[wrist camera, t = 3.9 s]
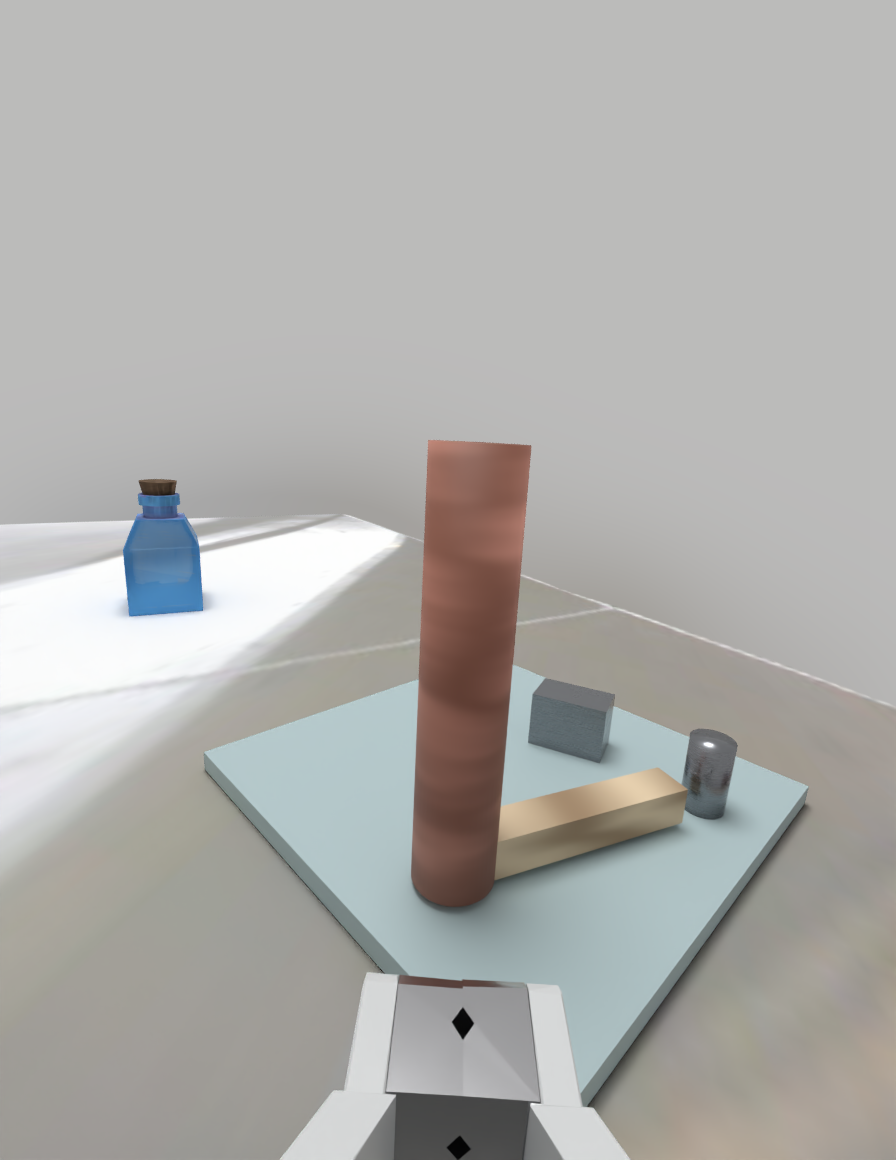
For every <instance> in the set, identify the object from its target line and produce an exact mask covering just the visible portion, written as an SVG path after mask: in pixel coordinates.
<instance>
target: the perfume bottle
mask: <svg viewBox="0 0 896 1160" xmlns="http://www.w3.org/2000/svg"><path fill="white" fill-rule="evenodd" d="M139 484H140V487H141V490H142V493H139V494H138V501H139V505H142V506H143V514H137V517H136V519H135V521H134V524H133V526H132V529H131V531H130V533H129V536H128V538H127V541H126V543H125V546H124V549H123V555H124V565H125V576H126V586H127V596H128V607H129V616H141V615H153V614H166V613H178V612H191V611H203V599H202V583H201V567H200V551H199V544H198V539H197V535H196V533H195V532H194V530H193V528H192V527H191V525H190V523H189V522H188V520H187V518H186V517H185V515H184V513H177V505H179V504H180V498H179V494H178V493H175V488H176V481H175V480H164V479H148V480H139Z"/></svg>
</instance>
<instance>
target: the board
mask: <svg viewBox="0 0 896 1160" xmlns="http://www.w3.org/2000/svg"><path fill="white" fill-rule="evenodd" d="M544 679H545V677H542V676H540V675H537V674H535V673H532V672H530V671H528V670H525V669H523V668H520V667H518V666H516V665H513V668H512V680H511V692H510V704H509V716H508V727H507V739H506V751H505V763H504V775H503V786H502V798H501V806H504V805H508V804H512V803H516V802H520V801H524V800H528V799H532V798H536V797H540V796H544V795H548V794H552V793H556V792H560V791H564V790H568V789H572V788H576V787H580V786H584V785H588V784H593V783H597V782H601V781H605V780H609V779H613V778H617V777H621V776H625V775H629V774H633V773H637V772H641V771H645V770H649V769H653V768H657V767H658V768H660V769H661V770H662V771H664V772H665V773H666V774H668V775H669V776H671V777H672V778H673V779H675V780H676V781H677V782H679V783H680V784H682V778H683V772H684V766H685V761H686V755H687V749H688V744H689V738H690V737H688V736H685V735H683V734H680V733H678V732H675V731H673V730H671V729H668V728H666V727H663V726H661V725H658V724H656V723H654V722H651V721H649V720H646V719H644V718H641V717H639V716H637V715H634V714H632V713H629V712H627V711H625V710H622V709H620V708H617V707H615V706H613V714H612V721H611V728H610V736H609V743H608V745H607V748H606V750H605V752H604V755H603V757H602V759H601V762H600V763H596V762H593V761H589V760H586V759H582V758H579V757H575V756H572V755H568V754H565V753H561V752H558V751H554V750H551V749H548V748H544V747H541V746H537V745H534V744H530V743H528V736H529V726H530V715H531V705H532V694H533V693H534V691H535V690H536V689H537V688H538V687H539V685H540V684H541V683H542V682H543V680H544ZM418 684H419V679H417V680H414V681H411V682H408V683H406V684H403V685H400V686H397V687H394V688H391V689H388V690H385V691H382V692H379V693H376V694H373V695H370V696H367V697H364V698H361V699H359V700H356V701H353V702H350V703H347V704H344V705H341V706H338V707H335V708H332V709H329V710H326V711H323V712H320V713H317V714H314V715H312V716H309V717H306V718H303V719H300V720H297V721H294V722H291V723H288V724H285V725H282V726H279V727H276V728H273V729H270V730H267V731H265V732H262V733H259V734H256V735H253V736H250V737H247V738H244V739H241V740H238V741H235V742H232V743H229V744H226V745H223V746H220V747H217V748H215V749H212V750H209V751H206V752H204V764H205V770H206V771H207V772H208V773H209V775H210V776H211V777H212V778H213V779H214V780H215V781H216V783H217V784H218V785H219V786H220V787H221V788H222V789H223V790H224V792H225V793H226V794H227V795H228V796H229V797H230V798H231V800H232V801H233V802H234V803H235V804H236V805H237V806H238V807H239V809H240V810H241V811H242V812H243V813H244V814H245V815H246V817H247V818H248V819H249V820H250V821H251V822H252V823H253V825H254V826H255V827H256V828H257V829H258V830H259V831H260V832H261V834H262V835H263V836H264V837H265V838H266V839H267V840H268V842H269V843H270V844H271V845H272V846H273V847H274V848H275V849H276V851H277V852H278V853H279V854H280V855H281V856H282V857H283V859H284V860H285V861H286V862H287V863H288V864H289V865H290V867H291V868H292V869H293V870H294V871H295V872H296V873H297V874H298V876H299V877H300V878H301V879H302V880H303V881H304V882H305V884H306V885H307V886H308V887H309V888H310V889H311V890H312V891H313V893H314V894H315V895H316V896H317V897H318V898H319V899H320V901H321V902H322V903H323V904H324V905H325V906H326V907H327V909H328V910H329V911H330V912H331V913H332V914H333V915H334V916H335V918H336V919H337V920H338V921H339V922H340V923H341V924H342V926H343V927H344V928H345V929H346V930H347V931H348V932H349V933H350V935H351V936H352V937H353V938H354V939H355V940H356V941H357V943H358V944H359V945H360V946H361V947H362V948H363V949H364V951H365V952H366V953H367V954H368V955H369V956H370V957H371V958H372V960H373V961H374V962H375V963H376V964H377V965H378V966H379V968H380V969H381V970H382V971H383V972H384V973H385V974H394V975H399V976H400V975H408V976H418V977H428V978H439V979H449V980H460V981H462V979H465V980H486V981H506V982H524V983H525V984H526V983H530V984H545V985H558V986H559V988H560V990H561V991H562V996H563V1001H564V1006H565V1012H566V1017H567V1023H568V1028H569V1034H570V1039H571V1045H572V1050H573V1056H574V1061H575V1067H576V1072H577V1078H578V1083H579V1089H580V1094H581V1100H582V1105H583V1107H587V1106H588V1104H589V1103H590V1102H591V1100H592V1099H593V1097H594V1096H595V1095H596V1093H597V1092H598V1090H599V1089H600V1088H601V1086H602V1085H603V1083H604V1082H605V1081H606V1079H607V1078H608V1077H609V1075H610V1074H611V1072H612V1071H613V1070H614V1068H615V1067H616V1065H617V1064H618V1063H619V1061H620V1060H621V1058H622V1057H623V1056H624V1054H625V1053H626V1051H627V1050H628V1049H629V1047H630V1046H631V1044H632V1043H633V1042H634V1040H635V1039H636V1038H637V1036H638V1035H639V1033H640V1032H641V1031H642V1029H643V1028H644V1026H645V1025H646V1024H647V1022H648V1021H649V1019H650V1018H651V1017H652V1015H653V1014H654V1012H655V1011H656V1010H657V1008H658V1007H659V1006H660V1004H661V1003H662V1001H663V1000H664V999H665V997H666V996H667V994H668V993H669V992H670V990H671V989H672V987H673V986H674V985H675V983H676V982H677V980H678V979H679V978H680V976H681V975H682V973H683V972H684V971H685V969H686V968H687V967H688V965H689V964H690V962H691V961H692V960H693V958H694V957H695V955H696V954H697V953H698V951H699V950H700V948H701V947H702V946H703V944H704V943H705V941H706V940H707V939H708V937H709V936H710V935H711V933H712V932H713V930H714V929H715V928H716V926H717V925H718V923H719V922H720V921H721V919H722V918H723V916H724V915H725V914H726V912H727V911H728V909H729V908H730V907H731V905H732V904H733V902H734V901H735V900H736V898H737V897H738V896H739V894H740V893H741V891H742V890H743V889H744V887H745V886H746V884H747V883H748V882H749V880H750V879H751V877H752V876H753V875H754V873H755V872H756V870H757V869H758V868H759V866H760V865H761V864H762V862H763V861H764V859H765V858H766V857H767V855H768V854H769V852H770V851H771V850H772V848H773V847H774V845H775V844H776V843H777V841H778V840H779V838H780V837H781V836H782V834H783V833H784V831H785V830H786V829H787V827H788V826H789V825H790V823H791V822H792V820H793V819H794V818H795V816H796V815H797V813H798V812H799V811H800V809H801V808H802V806H803V805H804V804H805V800H806V796H807V791H808V787H809V786H806V785H804V784H801V783H799V782H797V781H794V780H792V779H789V778H787V777H784V776H782V775H780V774H777V773H775V772H772V771H770V770H767V769H765V768H763V767H760V766H758V765H755V764H753V763H751V762H748V761H746V760H743V759H741V758H738V757H735V762H734V767H733V772H732V777H731V782H730V787H729V792H728V797H727V802H726V807H725V812H724V815H723V817H721V818H719V819H716V820H708V819H703V818H699V817H696V816H694V815H692V814H690V813H688V812H687V811H686V810H684V815H683V821H682V823H680V824H677V825H674V826H670V827H667V828H664V829H660V830H657V831H654V832H651V833H647V834H644V835H641V836H638V837H634V838H631V839H628V840H625V841H621V842H618V843H615V844H612V845H608V846H605V847H602V848H599V849H595V850H592V851H589V852H586V853H582V854H579V855H576V856H573V857H569V858H566V859H563V860H559V861H556V862H553V863H550V864H546V865H543V866H540V867H537V868H533V869H530V870H527V871H524V872H520V873H517V874H514V875H511V876H507V877H504V878H501V879H498V880H494V884H493V887H492V889H491V891H490V892H489V893H488V895H487V896H486V897H484V898H483V899H482V900H480V901H478V902H476V903H474V904H471V905H467V906H462V907H449V906H443V905H440V904H436V903H434V902H432V901H430V900H428V899H426V898H425V897H424V896H422V895H421V894H420V893H419V892H418V890H417V889H416V888H415V886H414V884H413V882H412V878H411V859H412V834H413V809H414V784H415V759H416V734H417V709H418Z"/></svg>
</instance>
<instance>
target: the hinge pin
mask: <svg viewBox="0 0 896 1160" xmlns="http://www.w3.org/2000/svg"><path fill="white" fill-rule="evenodd" d="M737 746H738V745H737V743H736V742H735V740H733V739H732V738H731V737H729V736H728V735H725V734H723V733H721V732H718V731H714V730H709V729H696V730H693V731H692V732H691V733H690V738H689V744H688V749H687V755H686V761H685V766H684V772H683V778H682V784H681V785H683V786H684V787H685V788H687V789H688V793H687V798H686V804H685V809H684V810H686V811H687V812H688V813H690V814H692V815H694V816H696V817H699V818H703V819H708V820H716V819H719V818H721V817H723V815H724V812H725V807H726V802H727V797H728V792H729V787H730V782H731V777H732V772H733V767H734V762H735V757H736V752H737Z"/></svg>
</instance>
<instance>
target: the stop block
mask: <svg viewBox="0 0 896 1160" xmlns="http://www.w3.org/2000/svg"><path fill="white" fill-rule="evenodd" d="M614 699H615V694H611V693H606V692H602V691H598V690H593V689H589V688H585V687H581V686H576V685H572V684H568V683H564V682H559V681H555V680H551V679H547V678H545V679H544V680H543V682H542V683H541V684H540V685H539V687H538V688H537V689H536V690H535V691H534V693H533V694H532V705H531V715H530V726H529V736H528V743H530V744H534V745H537V746H541V747H544V748H548V749H551V750H554V751H558V752H561V753H565V754H568V755H572V756H575V757H579V758H582V759H586V760H589V761H593V762H596V763H600V762H601V759H602V757H603V755H604V752H605V750H606V748H607V745H608V743H609V736H610V728H611V721H612V714H613V706H614Z"/></svg>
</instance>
